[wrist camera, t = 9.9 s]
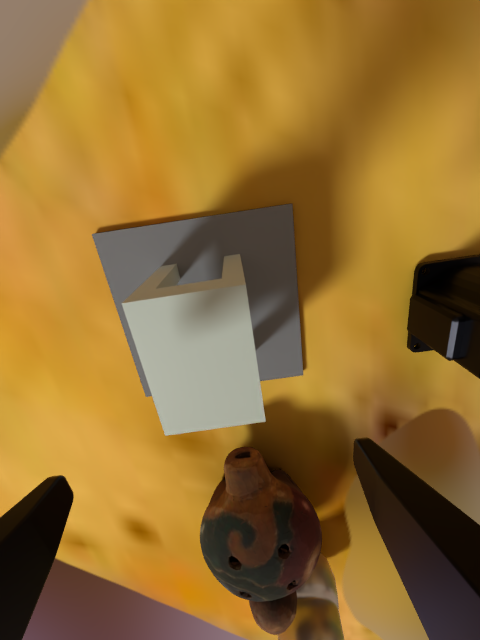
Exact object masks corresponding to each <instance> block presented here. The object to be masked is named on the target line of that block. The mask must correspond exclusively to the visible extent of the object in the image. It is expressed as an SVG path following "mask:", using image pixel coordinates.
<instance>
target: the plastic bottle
mask: <svg viewBox="0 0 480 640" xmlns="http://www.w3.org/2000/svg"><path fill="white" fill-rule="evenodd" d="M296 592H297V609H296V615H295V618H294V620H293V622H292V624H291V625H290V626H289V627H288V628H287V630H286V631H285V632H283V633H281V634H278V640H344V636H343V630H342V625H341V620H340V615H339V611H338V595H337V589H336V583H335V578H334V575H333V573H332V570H331V568H330V565H329V563H328V561H327V559H326V558H325V556H324V555H323V554H322V553H321V552H320V556H319V559H318V562H317V564H316V567H315V569H314V571H313V573H312V574H311V576H310V577H309V578H308V580H307V581H306V582H305V583H304V584H303V585H302V586H301V587H300V588H299V589H298V590H296Z"/></svg>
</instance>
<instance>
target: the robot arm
mask: <svg viewBox="0 0 480 640" xmlns="http://www.w3.org/2000/svg"><path fill="white" fill-rule="evenodd" d="M424 268H426V271H425V272H424V273H423V274H422V271H423V269H424ZM407 330H408V340H407V347H408V349H410V350H411V351H412V352H423V351H430V350H435V351H436V352H438V353H439V354H440V355H442V356H443V357H444V358H446V359H447V360H449V361H451V360H454V361H455V362H457V363H458V364H460V365H461V366H462V367H464V368H465V369H467V370H468V371H469V372H471V373H472V374H474V375H475V376H476V377H478V378H479V379H480V254H479V255H472V256H465V257H458V258H451V259H444V260H438V261H431V262H424V263H420V264H419V265H417V267H416V268H415V271H414V280H413V290H412V296H411V298H410V306H409V316H408V326H407ZM415 344H417V345H416V346H415V347H414V345H415ZM353 461H354V465H355V468H356V471H357V474H358V477H359V479H360V482H361V485H362V488H363V491H364V494H365V497H366V499H367V502H368V505H369V508H370V511H371V513H372V516H373V519H374V521H375V524H376V526H377V528H378V531H379V533H380V535H381V537H382V539H383V541H384V543H385V545H386V547H387V550H388V552H389V554H390V556H391V558H392V561H393V563H394V565H395V567H396V569H397V571H398V573H399V575H400V578H401V580H402V582H403V584H404V586H405V588H406V591H407V593H408V595H409V597H410V599H411V601H412V603H413V605H414V608H415V610H416V612H417V614H418V616H419V619H420V620H421V623H422V625H423V627H424V629H425V631H426V633H427V636H428V638H429V640H480V525H479V524H477V523H476V522H475V521H474V520H472V519H471V518H470V517H469V516H467V515H466V514H465V513H463V512H462V511H461V510H460V509H458V508H457V507H456V506H455V505H453V504H452V503H451V502H450V501H448V500H447V499H446V498H444V497H443V496H442V495H441V494H439V493H438V492H437V491H436V490H434V489H433V488H432V487H431V486H429V485H428V484H427V483H426V482H424V481H423V480H422V479H420V478H419V477H418V476H417V475H415V474H414V473H413V472H412V471H410V470H409V469H408V468H406V467H405V466H404V465H403V464H401V463H400V462H399V461H398V460H396V459H395V458H394V457H393V456H391V455H390V454H389V453H387V452H386V451H385V450H384V449H382V448H381V447H380V446H379V445H377V444H376V443H375V442H374V441H372V440H371V439H369V438H358V439H355V440H354V451H353ZM72 503H73V491H72V489H71V487H70V486H69V484H68V482H67V480H66V478H65V477H64V476H62V475H60V476H52V477H49V478H47V479H46V480H44V481H43V482H42V483H41V484H40V485H38V486H37V487H36V488H35V489H34V490H32V491H31V492H30V493H29V494H28V495H27V496H25V497H24V498H23V499H22V500H21V501H19V502H18V503H17V504H16V505H15V506H14V507H12V508H11V509H10V510H9V511H8V512H6V513H5V514H4V515H3V516H2V517H0V640H22V638H23V636H24V633H25V631H26V628H27V626H28V624H29V621H30V619H31V616H32V614H33V611H34V609H35V606H36V604H37V601H38V599H39V596H40V593H41V592H42V589H43V587H44V584H45V582H46V579H47V577H48V574H49V572H50V569H51V567H52V564H53V562H54V559H55V556H56V553H57V550H58V547H59V544H60V541H61V538H62V534H63V531H64V528H65V525H66V522H67V518H68V515H69V512H70V509H71V506H72Z"/></svg>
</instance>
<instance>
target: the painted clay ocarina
mask: <svg viewBox="0 0 480 640" xmlns="http://www.w3.org/2000/svg"><path fill="white" fill-rule="evenodd" d="M224 472H225V480H222V481H221V482H220V483H219V485H218V486H217V488H216V489H215V491H214V494H213V496H212V498H211V501H210V503H209V506H208V507H207V509H206V511H205V513H204V516H203V519H202V524H201V530H200V543H201V549H202V553H203V556H204V559H205V561H206V563H207V565H208V567H209V569H210V570H211V572H212V573H213V575H214V576H215V577H216V579H217V580H218V581H219V582H220V583H221V584H222V585H223V586H224V587H225V588H226V589H228V590H229V591H230V592H231V593H233V594H234V595H236V596H238V597H240V598H243V599H246V600H249V604H250V608H251V611H252V614H253V617H254V619H255V621H256V623H257V624H258V626H259V627H260V628H261V629H263V630H264V631H266V632H268V633H270V634H273V635H277V634H281V633H283V632H285V631H286V630H287V628H288V627H289V626H290V625H291V624H292V622H293V620H294V618H295V615H296V609H297V592H296V590H298V589H299V588H300V587H301V586H302V585H303V584H304V583H305V582H306V581H307V580H308V578H309V577H310V576H311V574H312V573H313V571H314V569H315V567H316V564H317V562H318V559H319V556H320V551H321V544H322V532H321V527H320V522H319V519H318V516H317V513H316V512H315V510H314V508H313V506H312V504H311V503H310V502H309V500H308V499H307V498H306V496H305V495H304V494H303V493H302V492H301V491H300V489H299V488H298V486H297V485H296V484H295V483H294V481H293V480H292V479H291V478H290V477H289V475H288V474H287V473H286V472H285V471H282V470H275V471H273V472H272V473H270V471H269V470H268V468H267V466H266V463H265V461H264V459H263V457H262V455H261V454H260V452H259V451H258V450H256V449H254V448H252V447H241V448H237V449H235V450H233V451H232V452H230V453H229V454H228V456H227V458H226V460H225V464H224Z"/></svg>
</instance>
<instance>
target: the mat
mask: <svg viewBox="0 0 480 640" xmlns="http://www.w3.org/2000/svg"><path fill="white" fill-rule="evenodd" d="M92 236H93V239H94V242H95V245H96V248H97V251H98V254H99V257H100V260H101V263H102V266H103V269H104V272H105V275H106V278H107V281H108V284H109V287H110V290H111V293H112V296H113V299H114V302H115V305H116V308H117V311H118V314H119V317H120V320H121V323H122V326H123V329H124V332H125V335H126V338H127V341H128V344H129V347H130V350H131V353H132V356H133V359H134V362H135V365H136V368H137V371H138V374H139V377H140V380H141V383H142V386H143V389H144V392H145V395H146V397H148V396H152V394H151V391H150V388H149V385H148V382H147V379H146V376H145V373H144V370H143V367H142V364H141V361H140V358H139V355H138V352H137V349H136V346H135V343H134V340H133V337H132V334H131V331H130V327H129V324H128V321H127V318H126V315H125V312H124V309H123V306H122V302H124V301H125V300H126V299H127V298H128V297H129V296H130V295H131V294H132V293H133V292H134V291H135V290H136V289H137V288H138V287H139V286H140V285H142V284H143V283H144V282H145V281H146V280H147V279H148V278H149V277H150V276H151V275H152V274H153V273H154V272H155V271H156V270H157V269H158V268H160V267H161V266H165V265H172V264H177V267H178V272H179V276H180V280H179V282H178V284H177V285H183V284H190V283H196V282H203V281H209V280H216V279H222V271H223V261H224V256H229V255H236V254H240V257H241V262H242V267H243V272H244V278H245V283H246V289H247V296H248V303H249V310H250V317H251V324H252V331H253V337H254V344H255V351H256V358H257V365H258V372H259V379H260V381H264V380H271V379H279V378H286V377H293V376H300V375H303V363H302V348H301V332H300V316H299V301H298V285H297V269H296V254H295V238H294V222H293V207H292V204H285V205H279V206H272V207H266V208H259V209H252V210H246V211H239V212H233V213H226V214H220V215H213V216H207V217H200V218H194V219H187V220H180V221H174V222H167V223H161V224H154V225H148V226H141V227H135V228H128V229H121V230H115V231H108V232H102V233H95V234H92ZM177 285H176V286H177Z"/></svg>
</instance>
